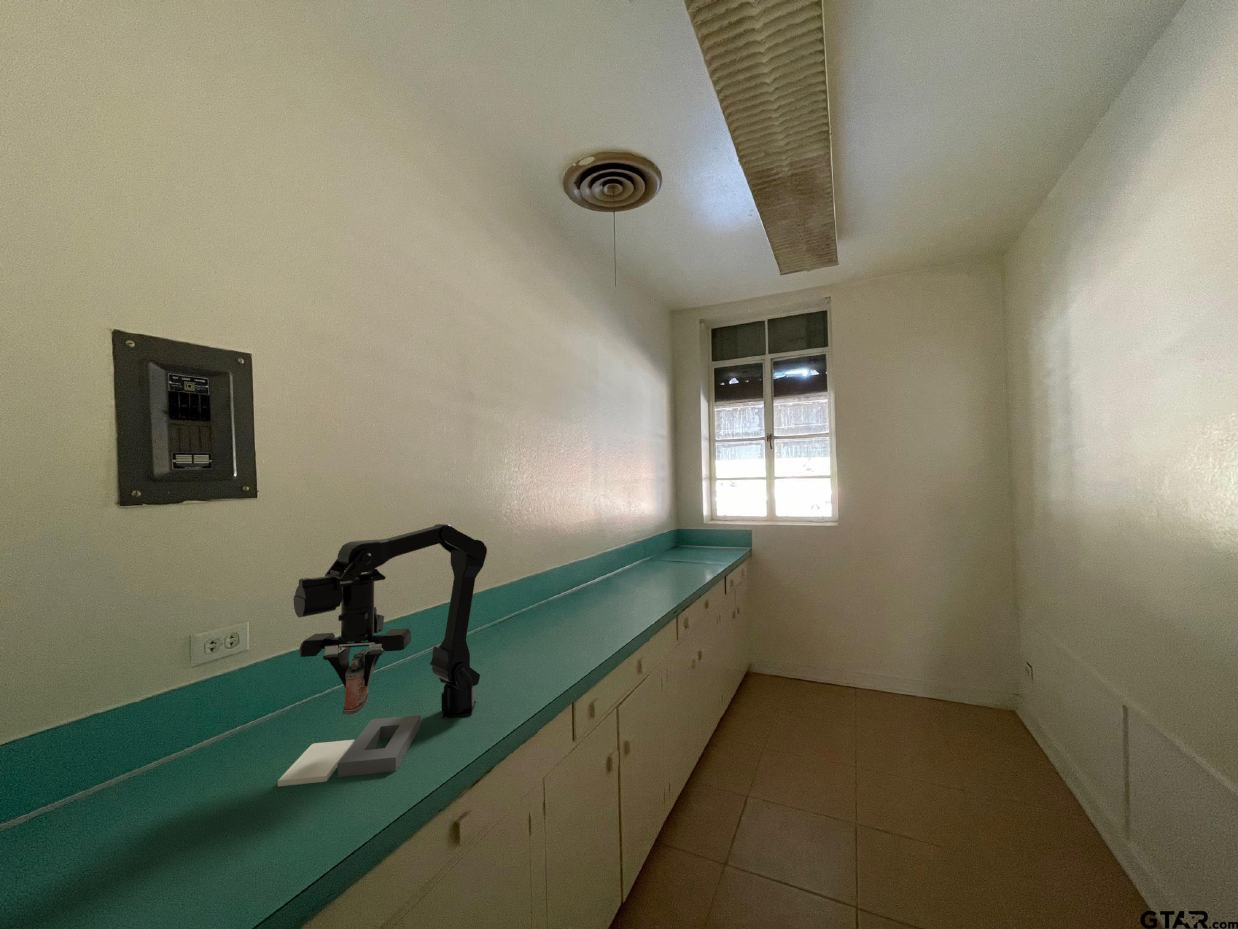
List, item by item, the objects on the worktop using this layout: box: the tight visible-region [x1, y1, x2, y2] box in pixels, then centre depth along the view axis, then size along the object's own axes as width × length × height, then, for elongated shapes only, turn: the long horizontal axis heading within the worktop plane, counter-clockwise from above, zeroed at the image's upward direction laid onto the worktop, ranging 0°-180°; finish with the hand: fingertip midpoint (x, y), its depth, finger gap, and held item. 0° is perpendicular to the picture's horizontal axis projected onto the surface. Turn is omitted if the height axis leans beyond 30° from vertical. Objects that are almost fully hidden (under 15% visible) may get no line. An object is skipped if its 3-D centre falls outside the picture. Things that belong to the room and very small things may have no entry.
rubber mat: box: [277, 739, 356, 787], centre depth 90 cm, size 8×12×1 cm, turn 8°
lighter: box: [342, 648, 370, 716], centre depth 93 cm, size 8×3×10 cm, turn 11°
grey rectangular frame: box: [337, 714, 422, 778], centre depth 94 cm, size 10×16×2 cm, turn 8°
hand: (357, 686), depth 93 cm, fingers closed on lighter, 3 cm apart
